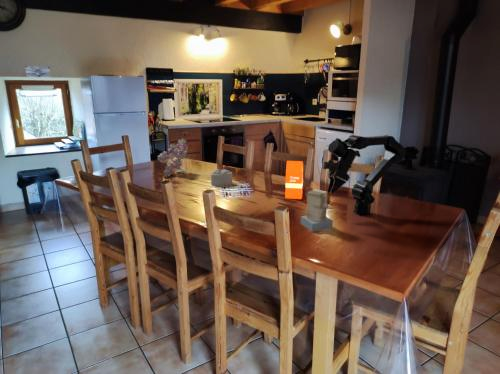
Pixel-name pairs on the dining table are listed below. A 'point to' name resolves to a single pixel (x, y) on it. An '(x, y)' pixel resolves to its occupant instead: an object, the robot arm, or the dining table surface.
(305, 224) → the slate plinth
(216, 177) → the lumpy-topped squat cylinder
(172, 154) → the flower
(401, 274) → the dining table surface
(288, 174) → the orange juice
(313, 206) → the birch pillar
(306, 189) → the bull figurine
